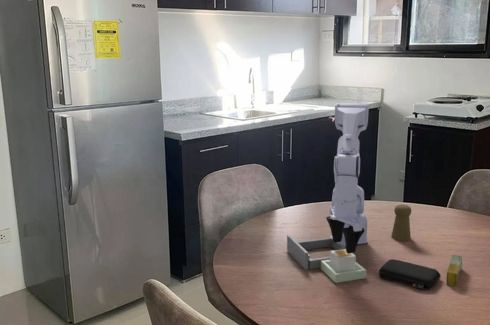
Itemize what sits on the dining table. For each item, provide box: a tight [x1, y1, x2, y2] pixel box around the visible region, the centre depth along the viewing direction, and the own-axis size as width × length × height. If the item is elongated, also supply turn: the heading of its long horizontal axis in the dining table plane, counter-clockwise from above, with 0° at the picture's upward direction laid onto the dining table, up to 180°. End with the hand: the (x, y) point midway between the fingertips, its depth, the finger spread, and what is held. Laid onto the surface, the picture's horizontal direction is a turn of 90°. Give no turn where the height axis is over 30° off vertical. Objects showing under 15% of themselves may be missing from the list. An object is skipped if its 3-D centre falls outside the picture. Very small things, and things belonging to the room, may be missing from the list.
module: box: [329, 249, 357, 273], centre depth 132 cm, size 5×5×5 cm
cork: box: [390, 203, 412, 242], centre depth 156 cm, size 6×6×11 cm
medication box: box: [446, 254, 463, 288], centre depth 130 cm, size 12×3×4 cm, turn 152°
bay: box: [320, 260, 367, 284], centre depth 133 cm, size 9×9×2 cm
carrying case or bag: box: [377, 258, 442, 290], centre depth 130 cm, size 11×3×15 cm
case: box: [286, 234, 356, 271], centre depth 143 cm, size 15×14×5 cm
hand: (343, 247), depth 131 cm, fingers open, 7 cm apart
